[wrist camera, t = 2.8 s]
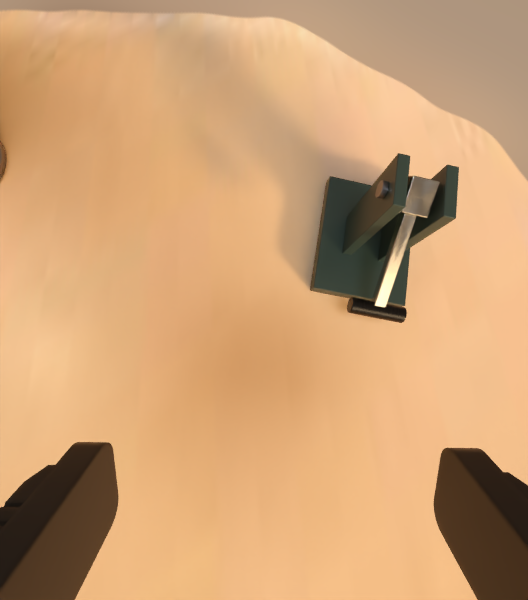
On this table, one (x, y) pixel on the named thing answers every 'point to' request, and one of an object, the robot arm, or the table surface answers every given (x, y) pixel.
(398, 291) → the bracket
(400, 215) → the lever
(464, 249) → the table surface
